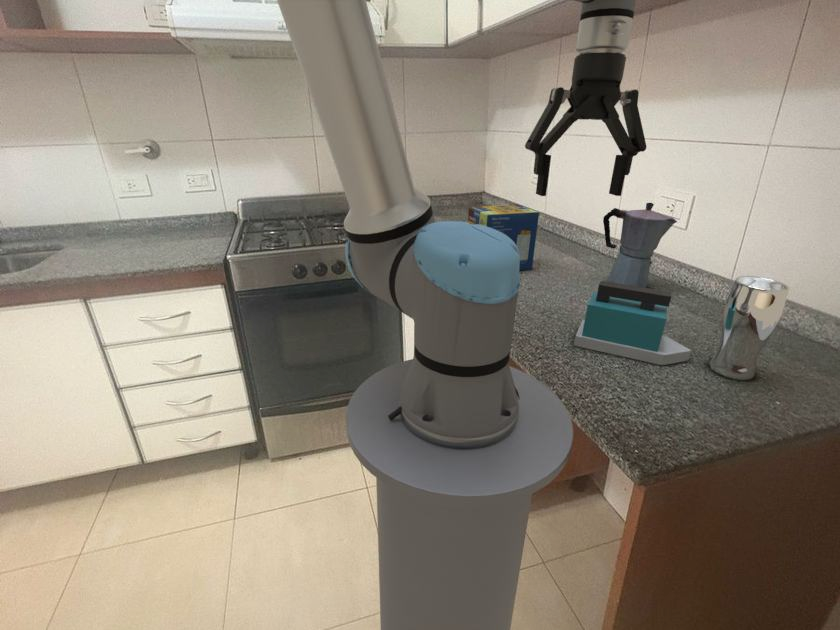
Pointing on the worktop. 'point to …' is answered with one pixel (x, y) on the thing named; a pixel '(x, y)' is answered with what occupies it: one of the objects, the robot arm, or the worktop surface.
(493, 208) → the protein box
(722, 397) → the worktop surface
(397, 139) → the robot arm
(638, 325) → the teal slab with bar
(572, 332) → the worktop surface
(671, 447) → the worktop surface
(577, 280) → the worktop surface
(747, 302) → the beer glass
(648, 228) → the moka pot
